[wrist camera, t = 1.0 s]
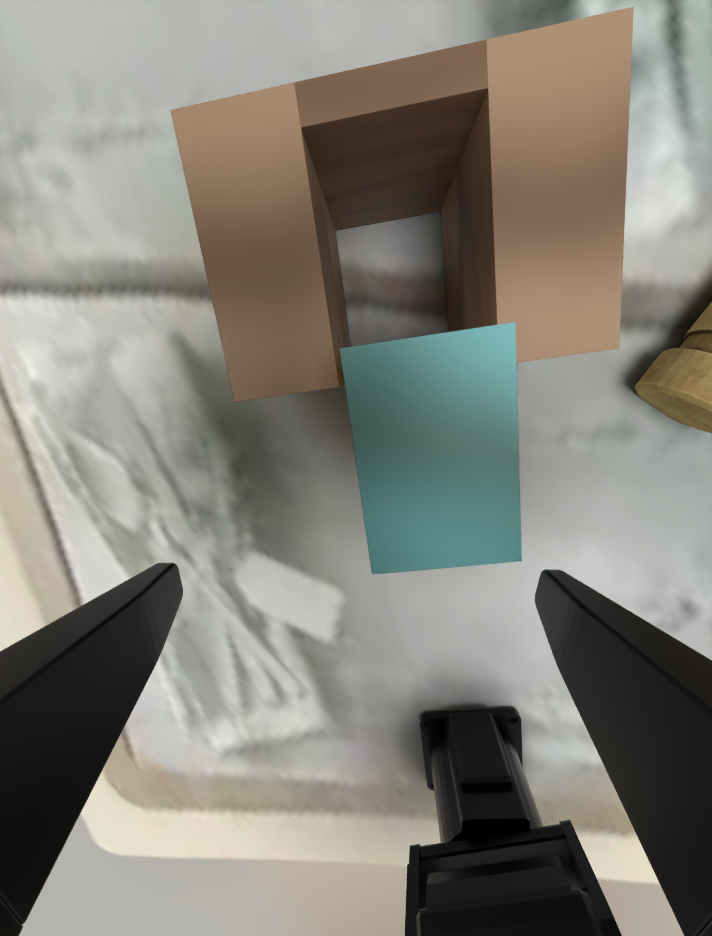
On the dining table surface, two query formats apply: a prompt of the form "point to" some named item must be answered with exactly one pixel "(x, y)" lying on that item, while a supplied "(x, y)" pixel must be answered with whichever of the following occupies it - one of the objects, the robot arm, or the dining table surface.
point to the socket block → (419, 195)
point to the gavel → (683, 378)
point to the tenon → (437, 448)
